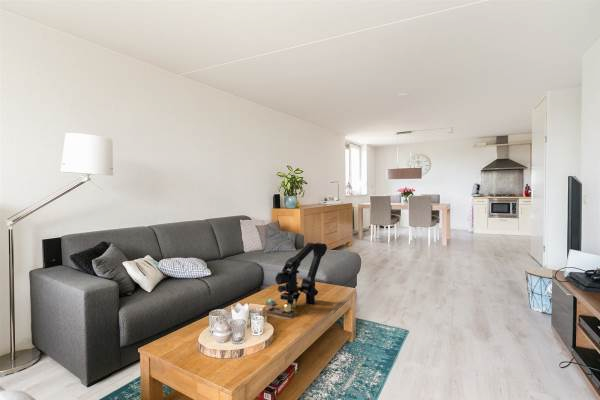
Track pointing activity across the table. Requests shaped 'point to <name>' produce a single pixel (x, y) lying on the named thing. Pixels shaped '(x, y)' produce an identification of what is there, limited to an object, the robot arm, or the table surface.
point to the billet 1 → (287, 308)
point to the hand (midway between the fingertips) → (292, 306)
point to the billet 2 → (294, 304)
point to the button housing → (270, 303)
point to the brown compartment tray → (280, 313)
